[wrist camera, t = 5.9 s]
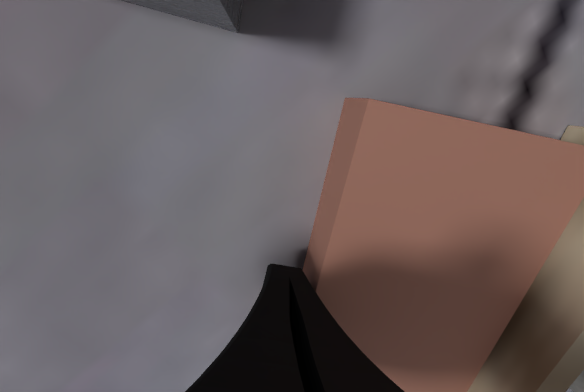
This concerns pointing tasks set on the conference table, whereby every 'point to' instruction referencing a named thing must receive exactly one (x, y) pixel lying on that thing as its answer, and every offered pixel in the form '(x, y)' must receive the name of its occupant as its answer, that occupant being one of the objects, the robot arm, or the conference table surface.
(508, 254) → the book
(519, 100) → the conference table surface
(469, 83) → the conference table surface
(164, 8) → the grey rectangular block
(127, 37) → the conference table surface
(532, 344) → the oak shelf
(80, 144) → the conference table surface
